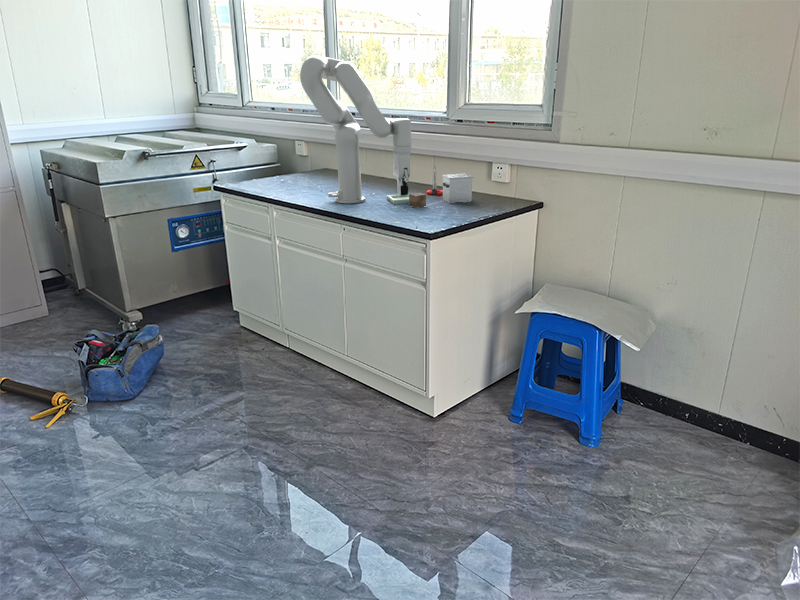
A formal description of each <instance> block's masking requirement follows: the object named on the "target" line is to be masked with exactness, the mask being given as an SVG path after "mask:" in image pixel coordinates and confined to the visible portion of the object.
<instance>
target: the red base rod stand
mask: <svg viewBox="0 0 800 600" xmlns="http://www.w3.org/2000/svg"><path fill="white" fill-rule="evenodd" d="M433 167H434V168H433V169H434V170H433V183H432V189H428V190H425V191H426V192H425V194H426V196H427V195H428V196H429V195H431V196H443V189H437V186H438V185H437V166H436V165H434V166H433Z"/></svg>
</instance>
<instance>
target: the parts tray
mask: <svg viewBox="0 0 800 600" xmlns="http://www.w3.org/2000/svg"><path fill="white" fill-rule="evenodd" d="M409 194H410V193H408V196H407V197H398V196H397V194H389V195H388V194H387V195H386V200H387V201H388V202H390V203H391V204H392V203H393V204H392V205H394V204H396V205H407V204H406V203H409Z"/></svg>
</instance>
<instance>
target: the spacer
mask: <svg viewBox="0 0 800 600" xmlns="http://www.w3.org/2000/svg"><path fill="white" fill-rule="evenodd" d="M400 186H401V179H397V178H396V193H397V194H396V195H397V196H398V197H407V196H408V195H401V190H400Z"/></svg>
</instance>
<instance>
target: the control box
mask: <svg viewBox="0 0 800 600" xmlns="http://www.w3.org/2000/svg"><path fill="white" fill-rule="evenodd" d="M441 177H442V190H443V194H442V201H444V200H445V202H446V201H447V202H449V203H450V204H456V203H455V202H463V203H472V202H471V201H472V198H473V179H474V176H473V175H471V174H469V173H467V172H466V173H464V172H463V173H451V174H450V173H448V174H441ZM447 202H446V203H447ZM449 203H448V204H449Z"/></svg>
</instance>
